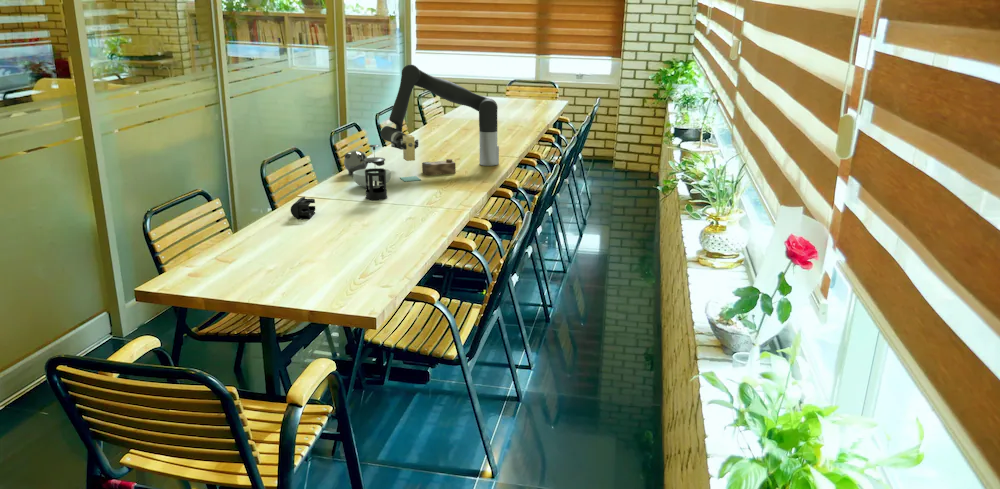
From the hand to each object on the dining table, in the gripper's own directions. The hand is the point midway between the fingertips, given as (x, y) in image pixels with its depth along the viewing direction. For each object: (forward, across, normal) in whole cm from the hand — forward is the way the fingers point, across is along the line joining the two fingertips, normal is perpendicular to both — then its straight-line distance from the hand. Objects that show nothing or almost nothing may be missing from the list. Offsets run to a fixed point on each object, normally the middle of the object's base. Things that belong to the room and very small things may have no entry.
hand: (410, 146), depth 354 cm
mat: (-3, 0, +16) cm, 16 cm away
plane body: (-11, +17, +16) cm, 26 cm away
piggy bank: (-23, -21, +17) cm, 35 cm away
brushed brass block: (-3, 0, +6) cm, 7 cm away
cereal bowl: (+5, -20, +16) cm, 26 cm away
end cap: (+42, -57, +16) cm, 72 cm away
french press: (+25, -23, +16) cm, 37 cm away
